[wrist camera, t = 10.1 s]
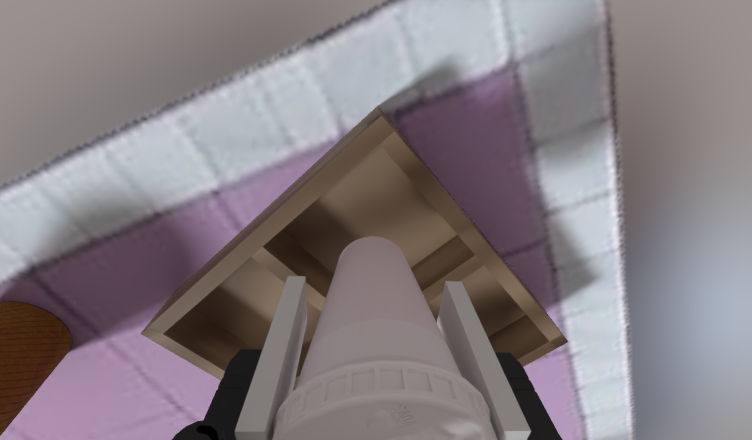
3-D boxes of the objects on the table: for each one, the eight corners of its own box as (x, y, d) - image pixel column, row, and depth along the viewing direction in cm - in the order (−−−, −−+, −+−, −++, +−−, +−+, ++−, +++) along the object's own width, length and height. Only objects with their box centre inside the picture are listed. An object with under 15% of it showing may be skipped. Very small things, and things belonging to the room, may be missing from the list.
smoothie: (288, 270, 17) (89, 847, 4) (367, 187, 15) (407, 786, 3) (375, 327, 19) (405, 825, 7) (454, 260, 17) (708, 784, 5)
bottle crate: (540, 304, 26) (568, 341, 23) (356, 414, 32) (355, 458, 28) (377, 106, 19) (381, 115, 15) (173, 294, 24) (140, 333, 21)
